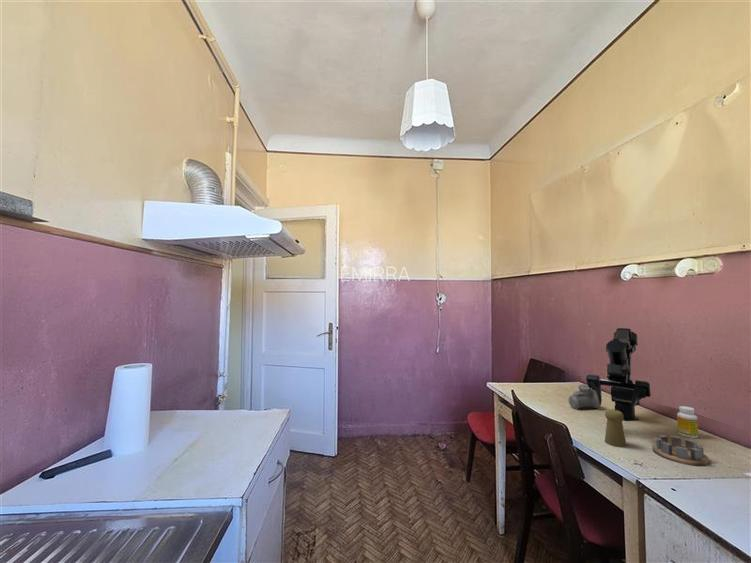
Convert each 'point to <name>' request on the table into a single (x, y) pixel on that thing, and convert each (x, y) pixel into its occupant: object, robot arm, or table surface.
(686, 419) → the supplement bottle
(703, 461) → the walnut base
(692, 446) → the castellated collar
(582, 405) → the pipe fitting
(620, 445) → the cork
